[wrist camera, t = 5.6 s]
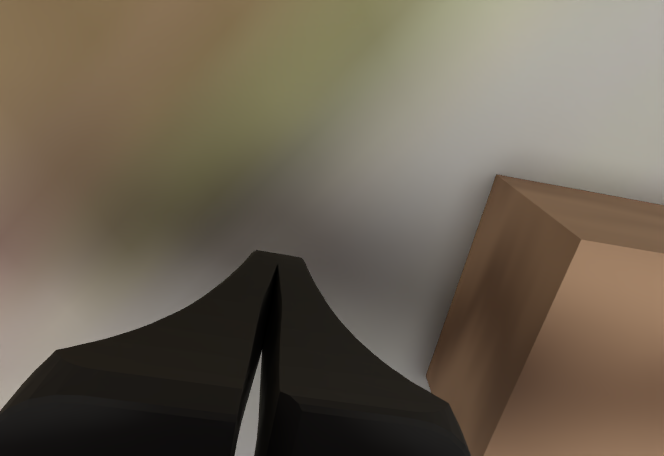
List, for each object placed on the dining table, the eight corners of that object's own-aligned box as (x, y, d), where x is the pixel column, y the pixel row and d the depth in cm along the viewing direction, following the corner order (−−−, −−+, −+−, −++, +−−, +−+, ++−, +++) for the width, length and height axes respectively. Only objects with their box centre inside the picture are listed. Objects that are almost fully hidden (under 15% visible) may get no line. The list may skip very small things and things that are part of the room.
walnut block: (660, 402, 18) (782, 531, 13) (424, 371, 17) (467, 500, 12) (772, 223, 15) (981, 310, 10) (493, 172, 14) (584, 242, 9)
